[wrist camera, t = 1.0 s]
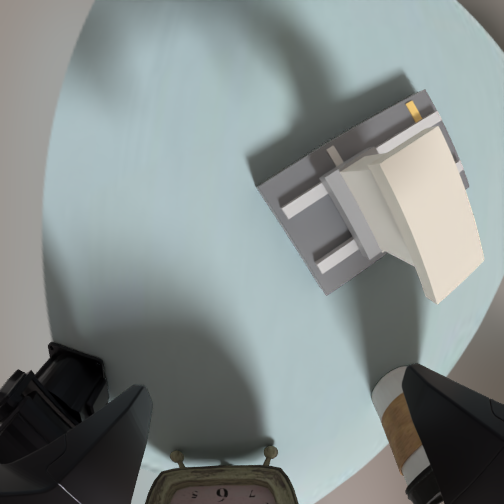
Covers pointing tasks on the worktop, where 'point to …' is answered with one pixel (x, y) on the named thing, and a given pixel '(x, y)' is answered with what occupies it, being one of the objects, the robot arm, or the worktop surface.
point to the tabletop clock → (223, 484)
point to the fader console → (320, 203)
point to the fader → (410, 209)
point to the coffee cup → (405, 439)
